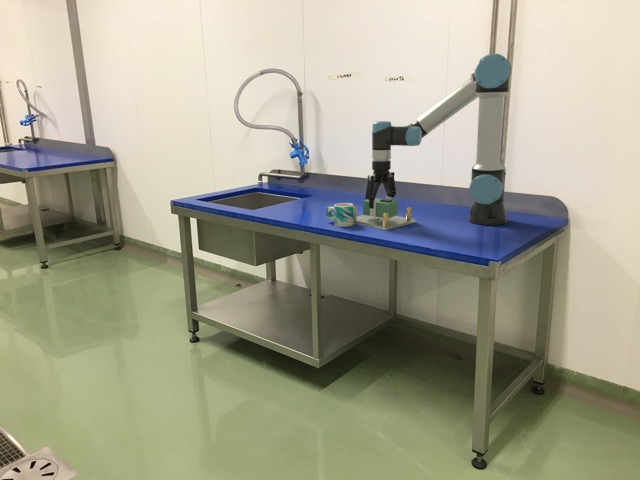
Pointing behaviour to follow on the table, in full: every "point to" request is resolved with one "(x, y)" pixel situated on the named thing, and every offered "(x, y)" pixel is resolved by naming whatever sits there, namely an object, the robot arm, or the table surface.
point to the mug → (341, 214)
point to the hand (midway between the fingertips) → (380, 214)
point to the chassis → (383, 220)
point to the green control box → (382, 207)
